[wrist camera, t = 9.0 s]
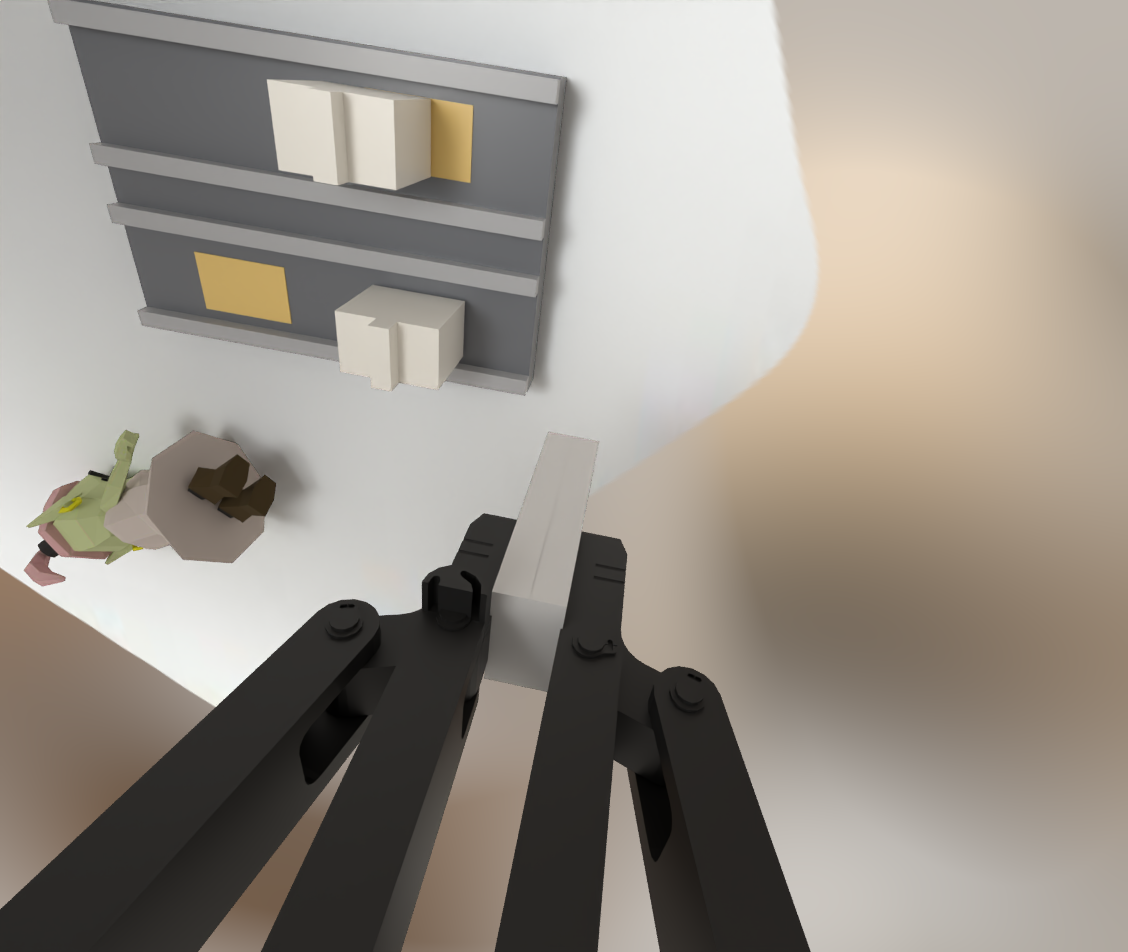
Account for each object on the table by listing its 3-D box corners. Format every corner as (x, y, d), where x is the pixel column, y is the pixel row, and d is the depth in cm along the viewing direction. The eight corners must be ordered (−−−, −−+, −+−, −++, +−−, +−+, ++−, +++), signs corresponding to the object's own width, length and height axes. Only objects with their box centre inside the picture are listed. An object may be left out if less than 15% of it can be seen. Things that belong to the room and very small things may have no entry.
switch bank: (173, 313, 28) (142, 327, 27) (94, 0, 22) (45, -7, 20) (533, 378, 28) (524, 397, 26) (566, 77, 21) (558, 75, 19)
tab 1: (328, 159, 22) (265, 173, 19) (321, 80, 21) (251, 78, 17) (430, 176, 22) (386, 194, 18) (430, 98, 20) (383, 100, 17)
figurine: (207, 383, 29) (16, 437, 33) (134, 510, 24) (-73, 552, 29) (324, 480, 35) (149, 514, 40) (282, 594, 31) (93, 616, 36)
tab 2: (375, 340, 26) (331, 380, 22) (372, 284, 25) (324, 317, 21) (462, 356, 26) (431, 399, 22) (464, 301, 24) (431, 337, 21)
